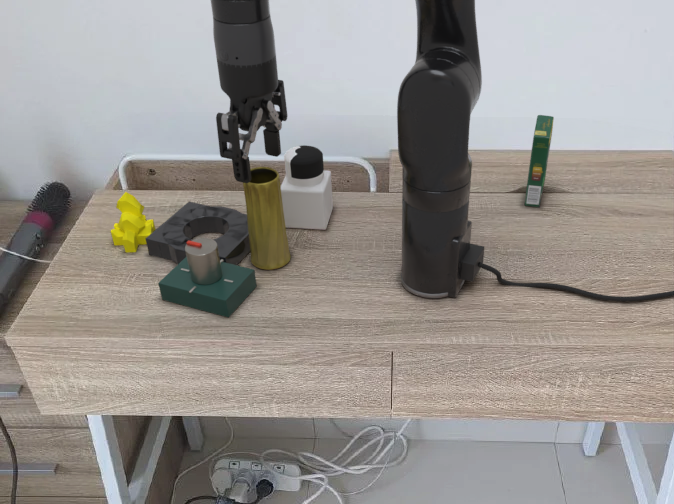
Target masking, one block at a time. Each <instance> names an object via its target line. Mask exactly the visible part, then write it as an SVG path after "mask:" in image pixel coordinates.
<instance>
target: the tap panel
mask: <svg viewBox="0 0 674 504" xmlns="http://www.w3.org/2000/svg"><path fill="white" fill-rule="evenodd" d="M223 261H224V260H223V259H221V260H220V263H221V269H222V277H221V279H220V280H218V281H217V282H215V283H212V284H208V285H200V284H196V283H194V282H193V281H192V279H191V275H190V270H189V266H188V261H187V257H185V258H184V259H183V260H182V261H181V262H180V263H179V264H176V266H175V267H173V268H172V269H171V270H170V271H169V272H168V273H166V275H165V276H164V277H163V278H162V279H161V280H159V281H158V283H157V284H158V288H159V292H160V296H161V300H162V301H165V302H169V303H173V304H177V305H180V306H183V307H187V308H192V309H194V310H199V311H203V312H207V313H210V314H214V315H219V316H222V317H225V318H230V317H231V316H232V314H234V312H235V311H236V310H237V309H238V308H239V306H241V304H242V303H244V301H245V300H246V299H247V298H248V296H250V294H251V293H252V292H253V291H255V289H256V288H257V286H258V285H257V278H256V271H255V269H253V268H249V267H245V266H241V265H238V264H237V265H233V264H229V263H225V262H223Z"/></svg>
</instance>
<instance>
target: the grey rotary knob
mask: <svg viewBox="0 0 674 504" xmlns="http://www.w3.org/2000/svg"><path fill="white" fill-rule="evenodd" d="M213 239H214V238H209V237H198V238H194V239H192V241H189V240H188V241H187V242H186V243H187V244H186V246H185V251H186V256H187V261H188V266H189V270H190V275H191V279H192V281H193V282H194V283H196V284H200V285H208V284H212V283H215V282H217V281H218V280H220V279H221V277H222V269H221V263H220V257H219V252H218V246H217V243H216V241H214V240H213Z"/></svg>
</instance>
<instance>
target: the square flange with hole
mask: <svg viewBox="0 0 674 504" xmlns="http://www.w3.org/2000/svg"><path fill="white" fill-rule="evenodd" d="M155 229H156V230H155V231H154V232H152V233H151V234H150V235H149V236H148V237H147V238H145V239H146V243H147V244H146V247H147V252H148V255H149V256H153V257H157V258H159V259H165V260H168V261H172V262H173V263H175V264H176V265H178V264H179V263H180V262H181V261H182V260H183V259H184V258H185V257H187V256H186V251H185V246H186V244H187V243H186V242H187V241H188V240H189V241H192V240H193V238H195V237H197V236H199V235H202V234H207V233H218V234H223V235H221V236H219V237H217V238H212V239H213V240H214V241H216V243H217V246H218V252H219V257H220V260H221V259H223V260H224V261H223V262H225V263H229V264H233V265H238V264H240V262H241V261H242V260H243V259H244V258H245V257H246V256H247V255H248V254H249V253H251V252H250V243H249V232H248V220H247V213H242V212H241V211H239V210H238V209H236V208H232V207H227V206H221V205H220V206H219V205H213V206H212V205H207V204H202V203H198V202H195V201H187V203H185V204H184V205H183V206H182V207H181V208H180V209H178V210H177V211H176V212H174V213H173V214H172V215H171V216H170V217H169V218H167V220H165V221H164V222H163V223H162V224H160V225H159V226H158V227H157V228H155Z"/></svg>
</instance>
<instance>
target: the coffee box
mask: <svg viewBox="0 0 674 504" xmlns="http://www.w3.org/2000/svg"><path fill="white" fill-rule="evenodd" d="M554 120H555V118H554V116H551V115H543V114H538V115H537V117H536V121H535V128H534V133H533V138H532V144H531V145H532V146H531V153H530V159H529V167H528V174H527V182H526V188H525V189H526V190H525V199H524V206H525V207H533V208H540V207H541V202H542V198H543V195H544V190H545V189H544V187H545V181H546V175H547V170H548V163H549V157H550V156H549V155H550V149H551V143H552V136H553V129H554Z"/></svg>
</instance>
